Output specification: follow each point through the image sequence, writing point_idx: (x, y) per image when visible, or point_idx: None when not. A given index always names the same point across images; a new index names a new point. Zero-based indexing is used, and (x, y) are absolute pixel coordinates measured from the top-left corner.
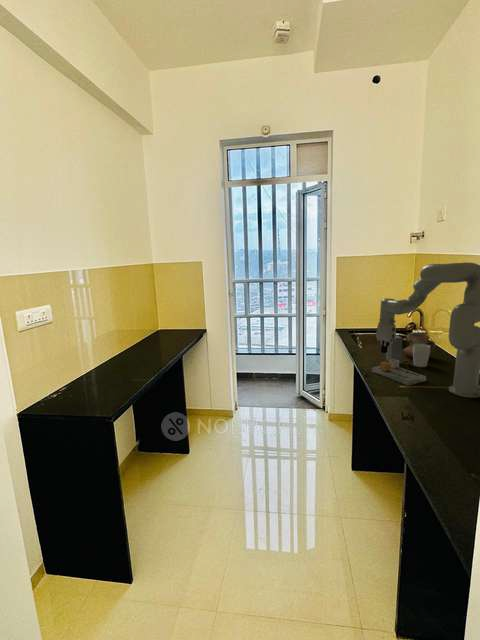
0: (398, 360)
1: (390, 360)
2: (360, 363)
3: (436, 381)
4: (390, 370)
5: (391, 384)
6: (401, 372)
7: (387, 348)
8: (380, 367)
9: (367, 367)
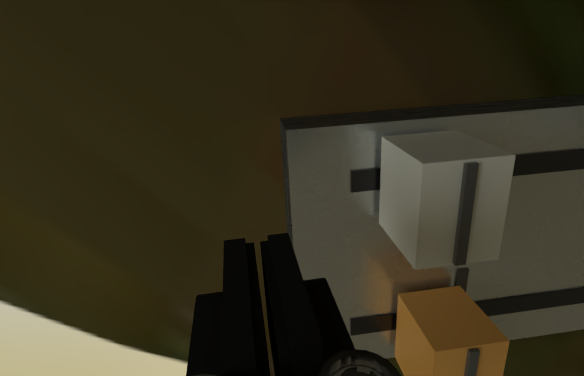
0: (511, 175)
1: (432, 264)
2: (13, 287)
3: None
4: (460, 283)
5: (555, 369)
6: (555, 226)
7: (344, 325)
8: (405, 371)
9: (170, 301)
